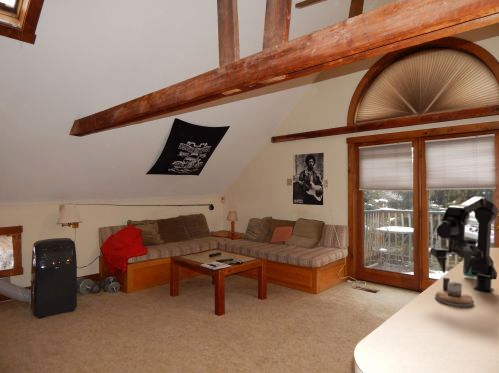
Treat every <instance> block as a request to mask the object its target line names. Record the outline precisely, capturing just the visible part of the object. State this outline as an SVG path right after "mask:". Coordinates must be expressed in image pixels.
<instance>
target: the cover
mask: <svg viewBox="0 0 499 373" xmlns="http://www.w3.org/2000/svg"><path fill="white" fill-rule="evenodd" d="M462 286H463V285H462V283H460V282H456V281H449V282H448V291H447V295H449V296H451V297H457V298H458V297H461V292H462Z"/></svg>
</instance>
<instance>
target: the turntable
mask: <svg viewBox="0 0 499 373" xmlns="http://www.w3.org/2000/svg"><path fill="white" fill-rule="evenodd" d="M450 281H451V280H450V278H449V277H443V278H442V290H441V289H440V290H437V291H436V294H437V297H438V298H440V299H442V300H444V301H447V302H451V303H456V304H470V303H472V302H473V301H474V299H473V296H471V295H469V294H468V293H465V292H462V291H461V297H458V298H457V297H451V296H449V295H447V291H448V282H450Z"/></svg>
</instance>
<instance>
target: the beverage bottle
mask: <svg viewBox="0 0 499 373" xmlns="http://www.w3.org/2000/svg"><path fill="white" fill-rule="evenodd" d="M466 241H467V245H477V240H476V239H470V238H469V239H468V238H467V239H466ZM462 267H463V268H462V273H463V276H466V277H468V278H469V277H470V278H477V276H476V275H472V272H471V267H470V269H469V271H468V273H465V267H464V262H463V265H462Z"/></svg>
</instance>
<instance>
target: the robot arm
mask: <svg viewBox="0 0 499 373" xmlns="http://www.w3.org/2000/svg"><path fill="white" fill-rule="evenodd" d="M471 213H474V218H475V220H476V221H477V223H478V230H477V242H476V244H475V245H473V244H467V239H465V235H466V234H465V232H466V231H465V230H466V229H465V228H466V226H467V220H468V219H469V218H470V214H471ZM498 213H499V210H498V207H497V206H496V205H495V203H494V202H492V201H490V200H487V198H486V197H484V196H472V197H471V198H470V199H468V200H466V201H464V202H462V203H461V204H452V205H449V206H447V208H446V210H445V212H444V214H443V216H442V219H441V224H439V225H438V226H437V228H436V234H437V235H438V237H440V238H441V239H446V240H447V241H448V244H447V246H445V247H446V249H444V248H442V247H431V248H430V249H429V254H430V255H432V256H433V257H435V258H436V260H437V262H438V264H439V266H440V269H441V272H442V273H444V274H445V273H446V261H447V257H446V256H449V255H453V256H454V255H456V256H458V257H459V258H461V259H463V263H464V264H463V266H464V267H465V273H468V271H469V269H470V267H471V272H472V275H476V276H477V277H476V284H475V286H474V287H473V290H477V291H481V292H485V293H489V294H490V293H491V292H493V291H494V288H493V287H492V281H493V280H497V277H498V272H497V270H496V268H495V267H494V260H493V259H492V257H491V256H490V254H491V250H490V249H491V235H492V234H491V232H492V224H493V223H494V222H495V221H496V218H497V216H498Z"/></svg>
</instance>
